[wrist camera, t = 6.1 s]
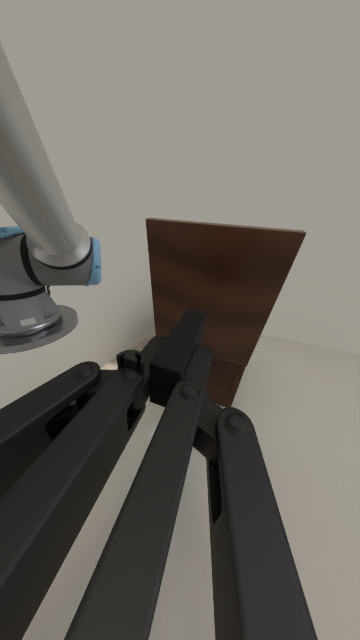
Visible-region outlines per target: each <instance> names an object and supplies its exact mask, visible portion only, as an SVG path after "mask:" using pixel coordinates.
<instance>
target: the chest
mask: <svg viewBox="0 0 360 640" xmlns="http://www.w3.org/2000/svg"><path fill="white" fill-rule="evenodd" d="M244 370H245V366H243V365H239V364H236V363H232V362H228V361H224V360H221V359H217V358H213V359H212V363H211V367H210V372H209V376H208V381H207V385H206V391H207V394H208V396H209V398H210V399H211V400H212V401H213V402H214V403H217V404H220V405H223V406H226V407H231V405H232V402H233V399H234V397H235V394H236V391H237V389H238V386H239V383H240V380H241V378H242V375H243V372H244Z"/></svg>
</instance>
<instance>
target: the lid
mask: <svg viewBox="0 0 360 640" xmlns="http://www.w3.org/2000/svg"><path fill="white" fill-rule="evenodd" d="M146 228H147V239H148V252H149V263H150V273H151V274H150V275H151V286H152V298H153V309H154V321H155V332H156V336H157V335H162V336H165V337H168V336H169V335H170V333H171V332H172V330H173V329H174V328H175V326H176V325H177V323H178V322H179V320H180V319H181V318H182V316H183V315H184V313H185V312H186V310H187V309H188V308H189V309H194V310H199V311H204V312H207V314H206V320H205V326H204V331H203V337H202V342H201V345H202V346H206V347H210V348H212V351H213V358H217V359H221V360H224V361H228V362H232V363H236V364H239V365H243V366H247V364H248V362H249V360H250V357H251V355H252V353H253V351H254V349H255V346H256V344H257V342H258V340H259V337H260V335H261V333H262V331H263V328H264V326H265V324H266V322H267V320H268V317H269V315H270V313H271V311H272V308H273V306H274V304H275V302H276V300H277V297H278V295H279V293H280V291H281V289H282V286H283V284H284V282H285V280H286V278H287V275H288V273H289V271H290V269H291V266H292V264H293V262H294V260H295V258H296V255H297V253H298V251H299V249H300V247H301V244H302V242H303V240H304V238H305V235H306V232H305V231H301V230H289V229H277V228H265V227H253V226H241V225H229V224H217V223H205V222H193V221H181V220H169V219H156V218H148V219H146Z"/></svg>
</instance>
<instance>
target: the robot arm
mask: <svg viewBox="0 0 360 640" xmlns="http://www.w3.org/2000/svg"><path fill="white" fill-rule="evenodd" d="M0 204H1V205H2V207H3V208H4V209H5V210H6V211H7V212H8V214H9V215H10V216H11V217H12V219H13V220H14V221H15V222H16V223H17V224H18V226H16V227H0V337H18V336H25V335H30V334H34V333H37V332H40V331H43V330H46V329H48V328H50V327H52V326H54V325H55V324H57V323H58V322H59V321H60V320H61V318H62V314H61V311H60V309H59V307H58V306H57V305H56V304H55V302H54V301H53V300H52V298H51V297H50V290H49V287H50V285H85V286H88V285H97V284H99V283H100V282H101V258H100V243H99V240H98V239H96V238H93V237H90V238H89V236H88V234H87V232H86V231H85V230H84V229H83V228H82V227H81V226H80V225H79V224H77V223H76V222H75V221H74V218H73V216H72V213H71V211H70V209H69V206H68V204H67V201H66V199H65V197H64V194H63V192H62V189H61V187H60V185H59V182H58V180H57V177H56V175H55V173H54V170H53V168H52V165H51V163H50V161H49V158H48V156H47V153H46V151H45V148H44V146H43V144H42V141H41V139H40V136H39V134H38V132H37V129H36V127H35V125H34V122H33V120H32V117H31V115H30V112H29V110H28V108H27V105H26V103H25V100H24V98H23V96H22V93H21V91H20V89H19V86H18V84H17V81H16V79H15V76H14V74H13V72H12V69H11V67H10V64H9V62H8V59H7V57H6V55H5V52H4V50H3V48H2V45H1V43H0ZM47 285H48V286H47ZM45 286H47V291H48V293H47V292H46V289H45ZM206 314H207V312H204V311H199V310H194V309H189V308H188V309H187V310H186V312H185V313H184V315H183V316H182V318H181V319H180V320H179V322H178V323H177V325H176V326H175V328H174V329H173V330H172V332H171V333H170V335H169V336H168V337H165V336H162V335H157V336H155V337H153V338H152V339H151V340H150V341H149V342H148V344H147V345H146V346H145V348H143V350H142V351H141V352H139V351H137V350H126V351H123V352H120V353H119V354H118V355H116V356H117V363H118V369H117V370H100V367H99V365H98V364H97V363H95V362H89V361H88V362H83V363H80V364H78V365H76V366H74V367H72V368H70V369H69V370H67V371H65V372H63V373H62V374H60V375H58V376H57V377H55V378H53V379H51V380H50V381H48V382H46V383H45V384H43V385H41V386H39V387H38V388H36V389H34V390H33V391H31V392H29V393H27V394H26V395H24V396H22V397H21V398H19V399H17V400H15V401H14V402H12V403H10V404H9V405H7V406H5V407H4V408H2V409H0V640H22V638H23V636H24V634H25V632H26V630H27V629H28V627H29V625H30V623H31V621H32V619H33V617H34V616H35V614H36V612H37V610H38V608H39V606H40V604H41V603H42V601H43V599H44V597H45V595H46V593H47V591H48V590H49V588H50V586H51V584H52V582H53V580H54V578H55V577H56V575H57V573H58V571H59V569H60V567H61V565H62V564H63V562H64V560H65V558H66V556H67V554H68V552H69V550H70V549H71V547H72V545H73V543H74V541H75V539H76V537H77V536H78V534H79V532H80V530H81V528H82V526H83V524H84V523H85V521H86V519H87V517H88V515H89V513H90V511H91V510H92V508H93V506H94V504H95V502H96V500H97V498H98V497H99V495H100V493H101V491H102V489H103V487H104V485H105V484H106V482H107V480H108V478H109V476H110V474H111V472H112V471H113V469H114V467H115V465H116V463H117V461H118V459H119V458H120V456H121V454H122V452H123V450H124V448H125V446H126V445H127V443H128V441H129V439H130V437H131V435H132V433H133V432H134V430H135V428H136V426H137V424H138V422H139V420H140V419H141V417H142V415H143V413H144V411H145V408H146V401H147V399H148V397H149V396H150V402H153V403H155V404H158V405H161V406H164V407H165V410H164V412H163V414H162V416H161V419H160V421H159V423H158V426H157V428H156V430H155V432H154V435H153V437H152V439H151V442H150V444H149V446H148V449H147V451H146V453H145V455H144V458H143V460H142V462H141V465H140V467H139V469H138V471H137V474H136V476H135V478H134V481H133V483H132V485H131V488H130V490H129V492H128V494H127V497H126V499H125V501H124V504H123V506H122V508H121V510H120V513H119V515H118V517H117V520H116V522H115V524H114V526H113V529H112V531H111V533H110V536H109V538H108V540H107V543H106V545H105V547H104V549H103V552H102V554H101V556H100V559H99V561H98V563H97V565H96V568H95V570H94V572H93V575H92V577H91V579H90V581H89V584H88V586H87V588H86V591H85V593H84V595H83V598H82V600H81V602H80V604H79V607H78V609H77V611H76V614H75V616H74V618H73V620H72V623H71V625H70V627H69V630H68V632H67V634H66V637H65V639H64V640H148V638H149V634H150V630H151V625H152V621H153V617H154V612H155V608H156V604H157V599H158V595H159V590H160V586H161V582H162V577H163V573H164V569H165V564H166V560H167V556H168V551H169V547H170V542H171V538H172V534H173V529H174V525H175V521H176V516H177V512H178V508H179V503H180V499H181V494H182V490H183V486H184V481H185V477H186V473H187V468H188V464H189V460H190V455H191V451H192V446H193V447H194V448H196V449H197V450H198V451H199V452H200V453H201V454H202V455H203V456H204V457H206V464H207V483H208V503H209V522H210V542H211V561H212V581H213V600H214V620H215V640H318V639H317V636H316V633H315V629H314V626H313V623H312V619H311V616H310V613H309V609H308V606H307V603H306V599H305V596H304V593H303V589H302V586H301V583H300V579H299V576H298V573H297V569H296V566H295V563H294V559H293V556H292V553H291V549H290V546H289V543H288V539H287V536H286V533H285V529H284V526H283V523H282V519H281V516H280V513H279V509H278V506H277V503H276V499H275V496H274V493H273V489H272V486H271V483H270V479H269V476H268V473H267V469H266V466H265V463H264V459H263V456H262V453H261V449H260V446H259V443H258V439H257V436H256V433H255V429H254V426H253V424H252V422H251V420H250V419H249V417H248V416H247V415H246V414H245V413H244V412H242V411H240V410H239V409H236V408H233V407H229V408H224V409H222V408H221V407H220V406H218V405H217V404H215V403H214V402H213V401H212V400H211V399H210V398H209V396H208V394H207V391H206V385H207V381H208V376H209V372H210V367H211V363H212V359H213V351H212V348H210V347H206V346H202V345H201V342H202V337H203V331H204V326H205V320H206ZM74 401H75V402H74ZM72 402H74V403H72Z"/></svg>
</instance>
